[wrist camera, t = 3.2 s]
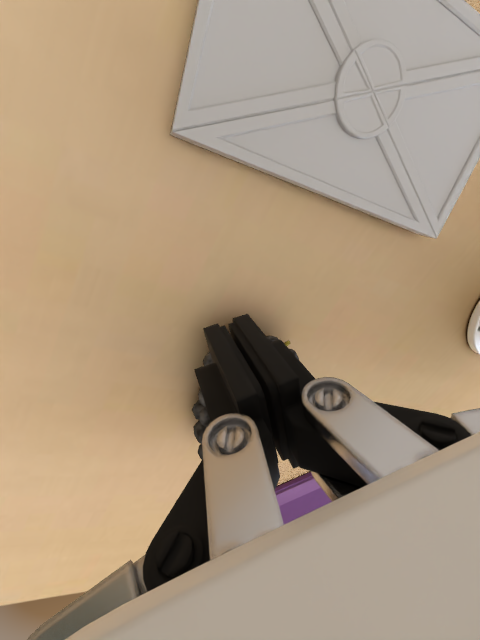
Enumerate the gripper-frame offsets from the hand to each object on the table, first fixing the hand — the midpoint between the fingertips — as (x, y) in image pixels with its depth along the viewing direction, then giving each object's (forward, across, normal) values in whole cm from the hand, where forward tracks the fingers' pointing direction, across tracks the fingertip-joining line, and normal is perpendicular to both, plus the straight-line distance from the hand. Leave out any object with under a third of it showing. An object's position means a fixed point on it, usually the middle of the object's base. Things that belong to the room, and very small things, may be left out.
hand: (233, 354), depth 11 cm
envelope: (+15, -16, -8) cm, 23 cm away
